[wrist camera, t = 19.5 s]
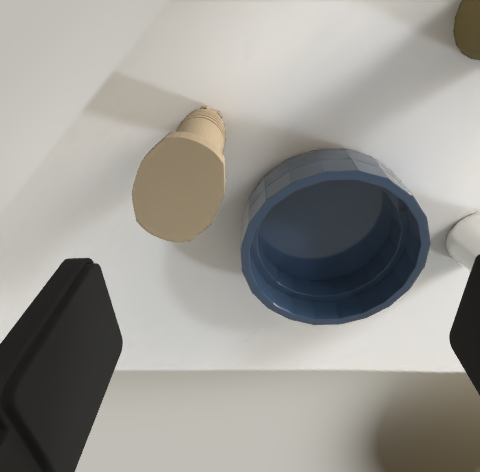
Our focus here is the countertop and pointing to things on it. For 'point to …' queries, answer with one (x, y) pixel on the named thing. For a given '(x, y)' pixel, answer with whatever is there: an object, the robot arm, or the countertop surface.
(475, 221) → the beer glass
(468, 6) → the olive tapered shaker
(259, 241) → the bowl
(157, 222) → the handle
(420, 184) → the countertop surface
